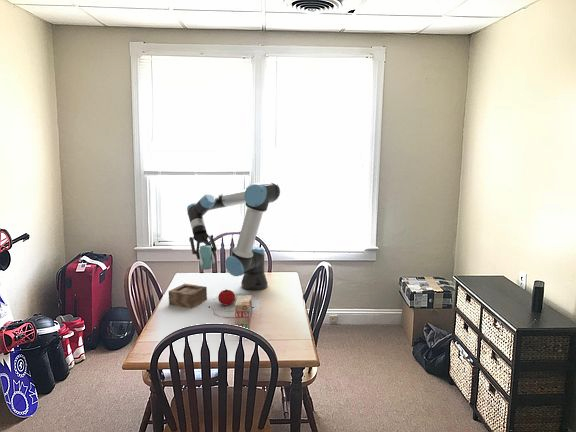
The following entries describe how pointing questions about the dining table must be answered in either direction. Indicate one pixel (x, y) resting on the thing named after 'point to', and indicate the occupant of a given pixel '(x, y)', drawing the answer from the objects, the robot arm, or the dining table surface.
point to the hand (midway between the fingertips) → (207, 263)
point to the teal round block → (206, 257)
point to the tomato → (226, 297)
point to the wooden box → (187, 295)
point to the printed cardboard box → (243, 310)
